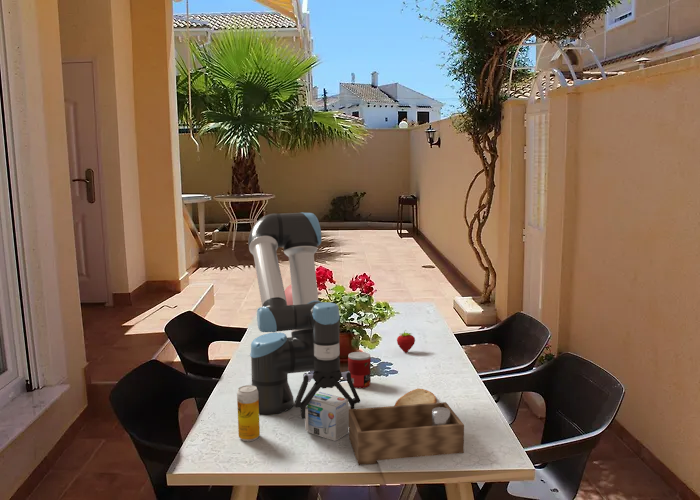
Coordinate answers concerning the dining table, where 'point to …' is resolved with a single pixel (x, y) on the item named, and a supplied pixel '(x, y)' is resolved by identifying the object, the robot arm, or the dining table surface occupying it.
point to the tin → (440, 416)
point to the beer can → (248, 413)
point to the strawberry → (405, 341)
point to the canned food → (360, 369)
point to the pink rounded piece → (289, 295)
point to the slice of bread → (416, 398)
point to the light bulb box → (328, 416)
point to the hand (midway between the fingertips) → (327, 427)
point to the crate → (402, 433)
